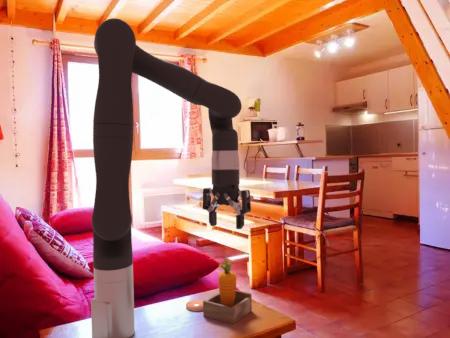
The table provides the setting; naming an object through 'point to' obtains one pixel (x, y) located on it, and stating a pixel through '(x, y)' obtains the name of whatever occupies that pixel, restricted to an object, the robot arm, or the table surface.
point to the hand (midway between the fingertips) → (226, 227)
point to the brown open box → (226, 313)
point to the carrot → (227, 285)
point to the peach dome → (195, 305)
